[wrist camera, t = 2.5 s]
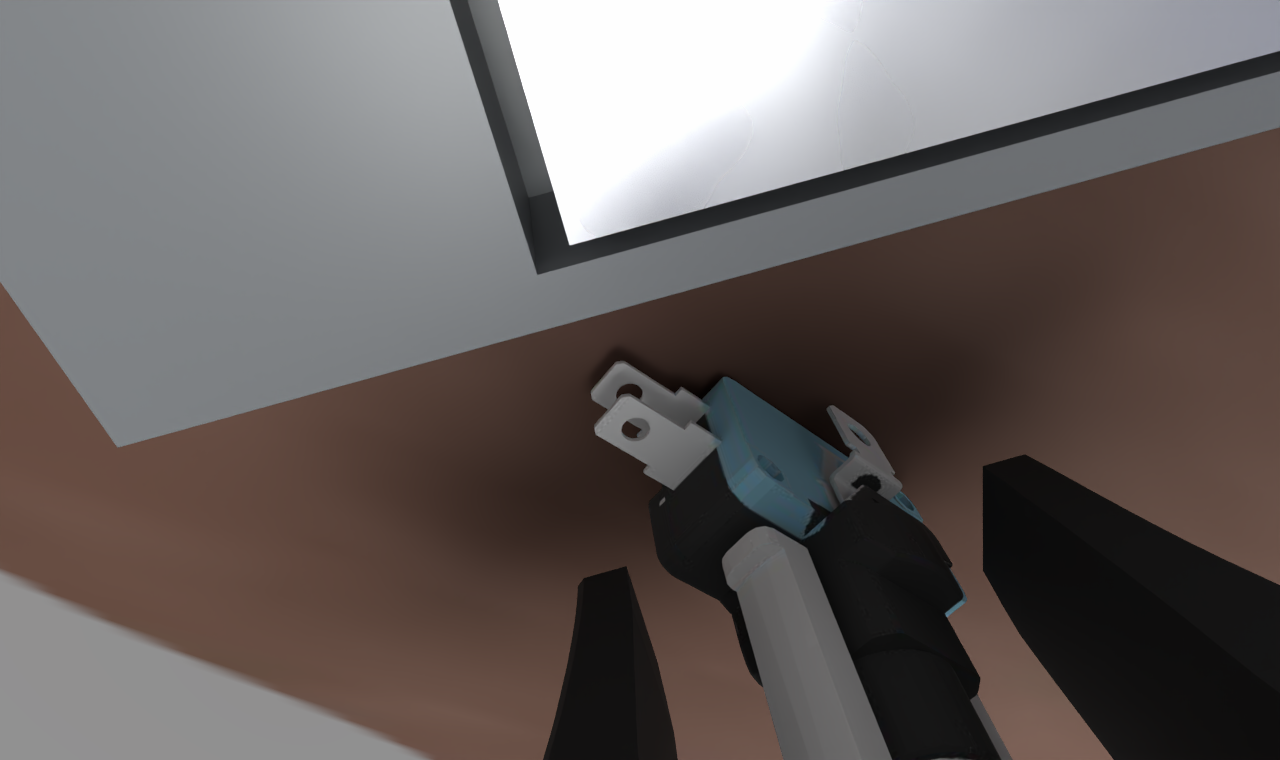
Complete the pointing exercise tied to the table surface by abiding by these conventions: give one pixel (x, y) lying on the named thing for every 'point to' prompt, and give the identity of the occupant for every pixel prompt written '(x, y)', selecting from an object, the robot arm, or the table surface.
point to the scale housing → (403, 195)
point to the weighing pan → (823, 84)
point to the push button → (809, 571)
